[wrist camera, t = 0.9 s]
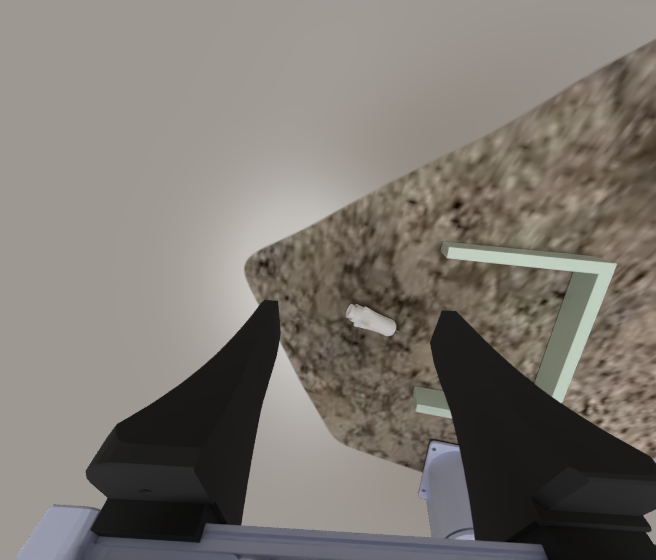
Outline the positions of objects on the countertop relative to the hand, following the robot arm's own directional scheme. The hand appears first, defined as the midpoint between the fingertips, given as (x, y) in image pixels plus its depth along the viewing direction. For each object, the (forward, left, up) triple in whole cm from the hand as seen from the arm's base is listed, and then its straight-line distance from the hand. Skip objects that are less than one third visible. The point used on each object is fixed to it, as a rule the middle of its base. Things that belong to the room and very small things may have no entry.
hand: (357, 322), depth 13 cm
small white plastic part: (-8, -1, -18) cm, 20 cm away
